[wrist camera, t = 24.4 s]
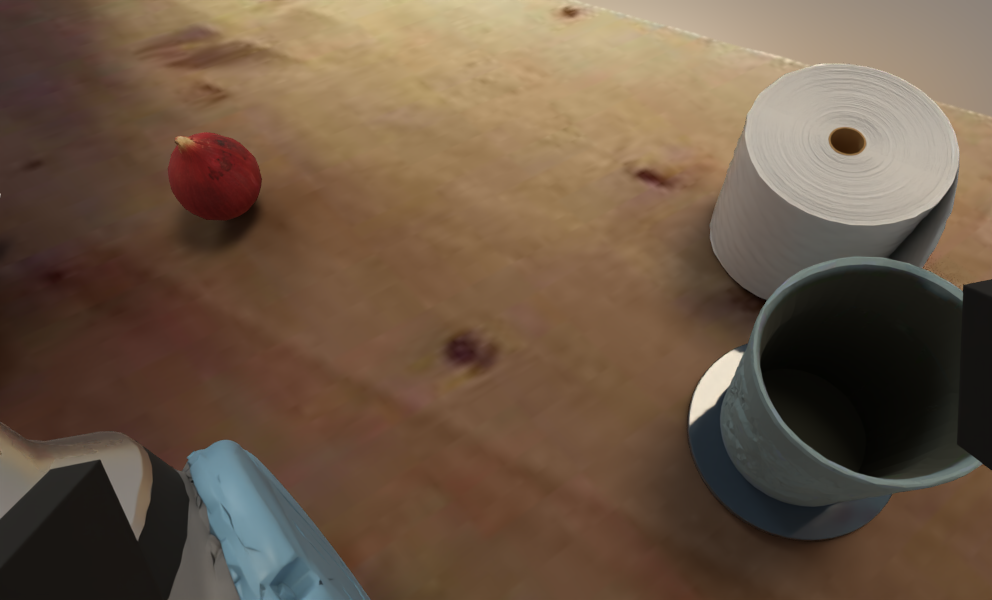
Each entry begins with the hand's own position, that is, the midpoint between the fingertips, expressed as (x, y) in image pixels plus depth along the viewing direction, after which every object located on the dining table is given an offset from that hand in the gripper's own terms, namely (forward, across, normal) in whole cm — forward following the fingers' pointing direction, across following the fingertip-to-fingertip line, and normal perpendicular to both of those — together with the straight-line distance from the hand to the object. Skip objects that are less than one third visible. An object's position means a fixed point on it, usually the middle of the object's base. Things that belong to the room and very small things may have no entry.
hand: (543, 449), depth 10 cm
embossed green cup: (+24, +14, -17) cm, 33 cm away
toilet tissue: (+33, +20, -9) cm, 39 cm away
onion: (+41, -18, -1) cm, 45 cm away
